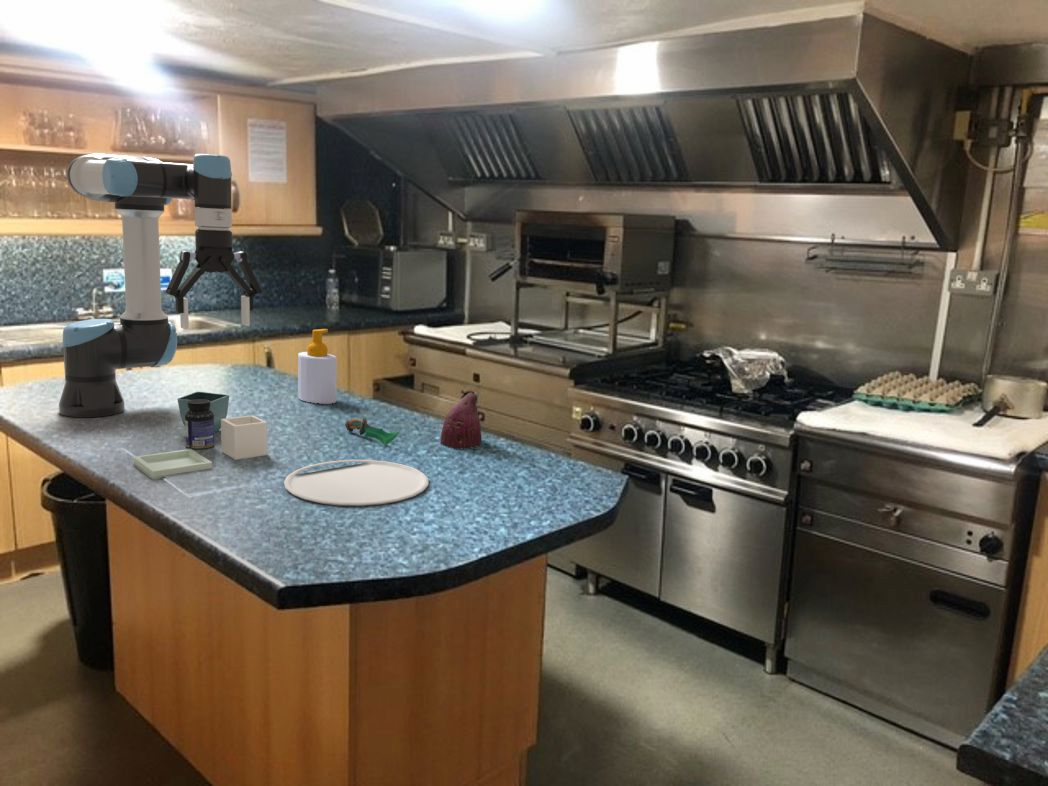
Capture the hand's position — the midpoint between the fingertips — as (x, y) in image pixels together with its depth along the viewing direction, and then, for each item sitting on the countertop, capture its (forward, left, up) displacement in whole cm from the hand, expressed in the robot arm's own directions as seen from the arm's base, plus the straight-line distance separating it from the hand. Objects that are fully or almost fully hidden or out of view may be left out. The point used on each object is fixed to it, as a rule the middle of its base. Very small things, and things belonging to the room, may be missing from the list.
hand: (215, 326), depth 189 cm
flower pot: (-15, +3, -28) cm, 32 cm away
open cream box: (+8, +3, -28) cm, 29 cm away
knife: (+11, +34, -28) cm, 45 cm away
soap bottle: (-34, +43, -28) cm, 61 cm away
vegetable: (+24, +51, -28) cm, 63 cm away
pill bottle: (-2, -3, -28) cm, 28 cm away
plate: (+38, +14, -28) cm, 49 cm away
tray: (+9, -13, -28) cm, 32 cm away
